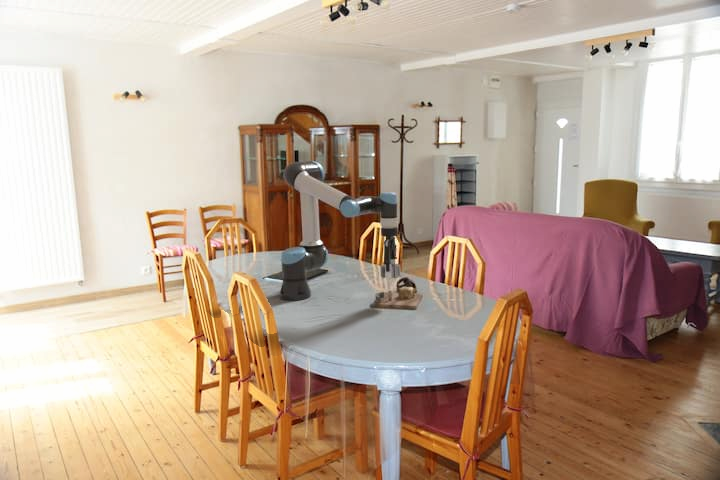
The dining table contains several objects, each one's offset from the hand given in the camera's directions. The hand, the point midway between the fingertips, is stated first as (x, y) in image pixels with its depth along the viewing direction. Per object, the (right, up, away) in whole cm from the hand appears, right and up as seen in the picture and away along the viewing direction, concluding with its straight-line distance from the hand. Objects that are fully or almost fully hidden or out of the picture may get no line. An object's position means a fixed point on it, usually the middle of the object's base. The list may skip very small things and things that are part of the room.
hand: (390, 275), depth 254 cm
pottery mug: (+9, -9, +22) cm, 26 cm away
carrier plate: (+4, -12, +5) cm, 14 cm away
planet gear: (0, 0, 0) cm, 0 cm away
